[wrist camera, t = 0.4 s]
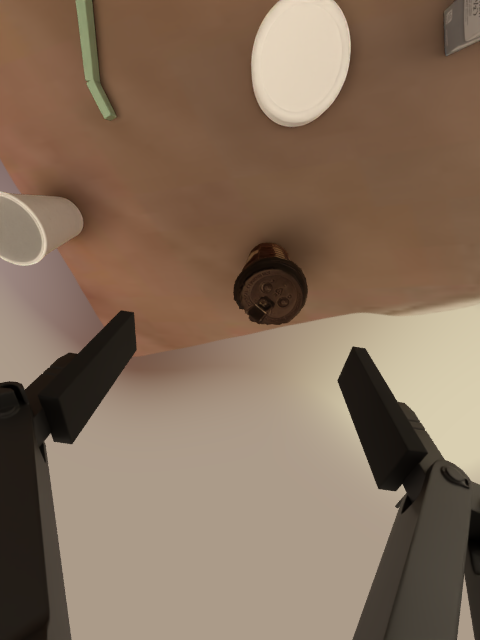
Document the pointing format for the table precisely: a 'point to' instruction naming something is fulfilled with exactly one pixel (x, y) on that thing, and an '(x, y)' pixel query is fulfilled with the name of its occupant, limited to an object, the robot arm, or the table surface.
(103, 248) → the table surface
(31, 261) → the dixie cup
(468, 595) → the robot arm
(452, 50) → the label tape box
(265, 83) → the coaster
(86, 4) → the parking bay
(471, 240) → the table surface
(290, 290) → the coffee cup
